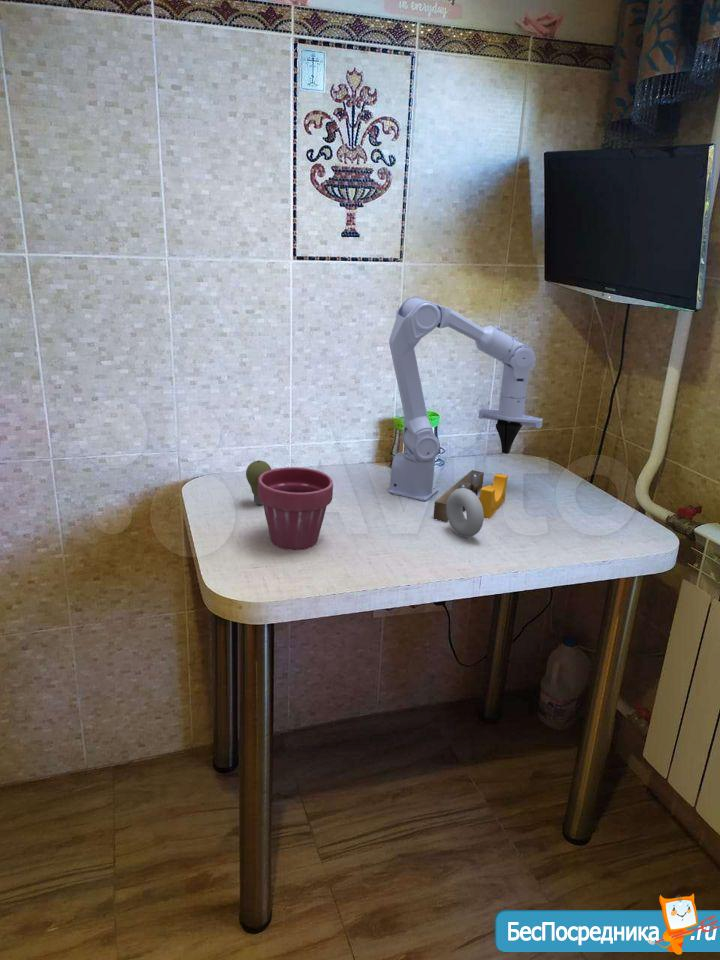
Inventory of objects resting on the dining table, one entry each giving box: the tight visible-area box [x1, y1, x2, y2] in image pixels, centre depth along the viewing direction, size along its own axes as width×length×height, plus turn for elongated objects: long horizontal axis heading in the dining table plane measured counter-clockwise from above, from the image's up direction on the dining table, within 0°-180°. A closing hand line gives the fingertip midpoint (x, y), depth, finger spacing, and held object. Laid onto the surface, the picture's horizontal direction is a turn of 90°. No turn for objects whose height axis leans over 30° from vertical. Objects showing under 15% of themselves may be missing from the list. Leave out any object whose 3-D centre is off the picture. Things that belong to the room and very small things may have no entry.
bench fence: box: [433, 469, 485, 523], centre depth 160 cm, size 4×24×6 cm, turn 153°
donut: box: [446, 488, 485, 538], centre depth 143 cm, size 10×3×10 cm, turn 30°
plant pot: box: [258, 466, 334, 551], centre depth 137 cm, size 14×14×13 cm
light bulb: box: [245, 459, 273, 506], centre depth 153 cm, size 6×6×10 cm
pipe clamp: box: [478, 473, 509, 520], centre depth 158 cm, size 12×4×6 cm, turn 153°
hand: (505, 452), depth 167 cm, fingers closed
